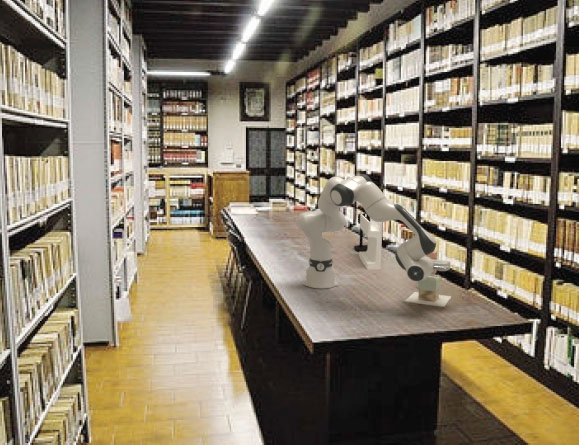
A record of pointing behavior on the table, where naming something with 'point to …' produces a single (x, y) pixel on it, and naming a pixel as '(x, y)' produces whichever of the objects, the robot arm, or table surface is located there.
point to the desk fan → (361, 236)
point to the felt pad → (440, 301)
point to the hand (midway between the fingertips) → (430, 260)
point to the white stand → (371, 243)
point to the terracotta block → (433, 256)
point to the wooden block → (428, 295)
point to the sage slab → (430, 284)
